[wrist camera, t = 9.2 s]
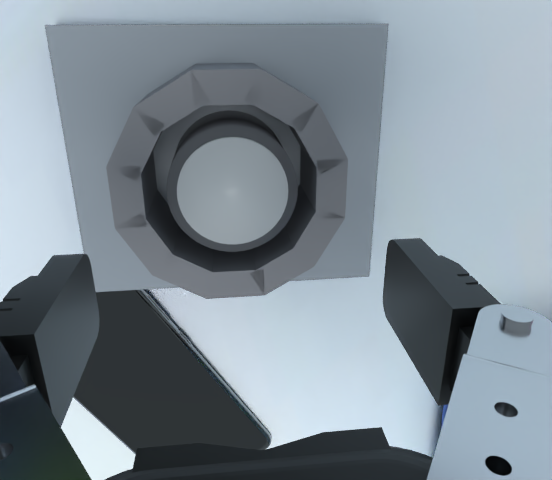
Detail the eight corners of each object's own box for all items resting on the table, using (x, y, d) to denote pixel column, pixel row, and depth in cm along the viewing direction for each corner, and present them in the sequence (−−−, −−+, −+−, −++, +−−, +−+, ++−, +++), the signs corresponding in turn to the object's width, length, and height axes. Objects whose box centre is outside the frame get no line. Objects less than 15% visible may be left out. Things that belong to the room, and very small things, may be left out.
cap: (284, 109, 22) (299, 124, 18) (284, 215, 24) (298, 250, 20) (169, 111, 21) (159, 128, 17) (179, 220, 23) (171, 257, 19)
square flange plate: (377, 24, 22) (424, 21, 17) (361, 264, 27) (395, 317, 22) (56, 25, 21) (5, 23, 16) (97, 278, 26) (68, 339, 20)
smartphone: (180, 498, 32) (-8, 327, 25) (181, 484, 32) (0, 316, 26) (277, 444, 31) (108, 253, 24) (275, 431, 32) (112, 244, 25)
